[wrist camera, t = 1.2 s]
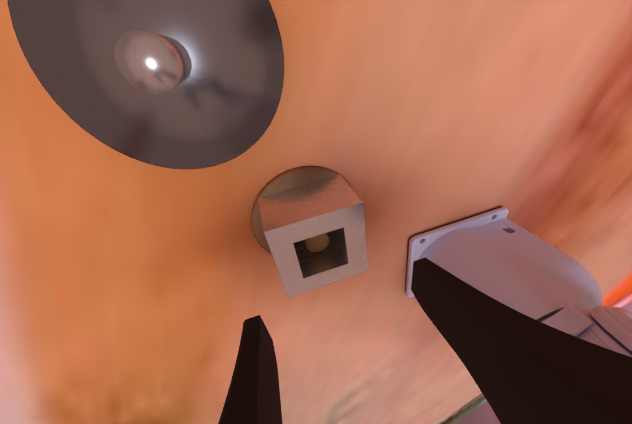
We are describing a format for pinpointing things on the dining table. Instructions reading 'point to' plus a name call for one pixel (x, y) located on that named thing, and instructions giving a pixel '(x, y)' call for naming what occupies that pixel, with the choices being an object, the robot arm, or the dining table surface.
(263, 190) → the stand
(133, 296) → the dining table surface
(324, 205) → the square tube sleeve
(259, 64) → the hub
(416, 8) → the dining table surface
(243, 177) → the dining table surface
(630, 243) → the dining table surface
